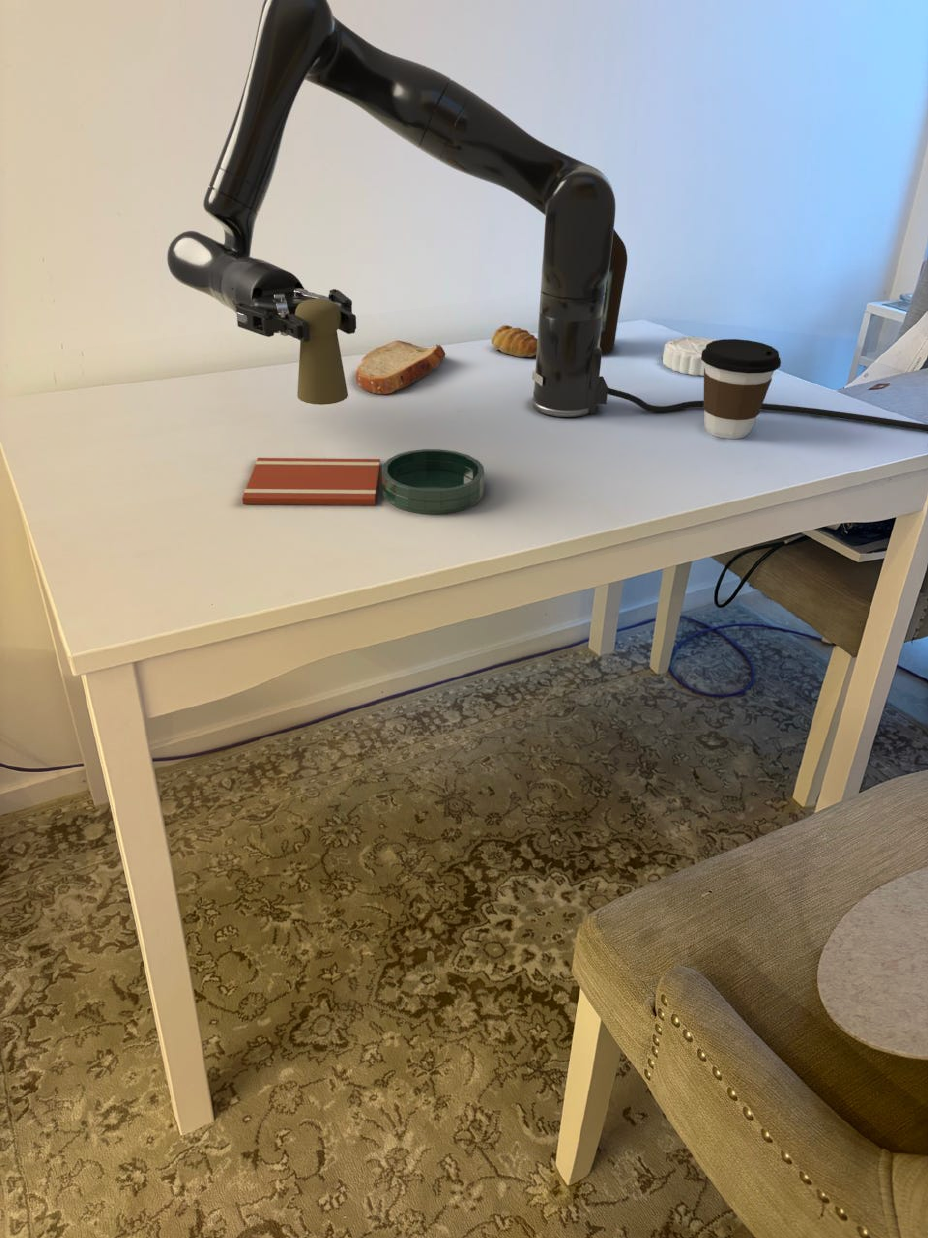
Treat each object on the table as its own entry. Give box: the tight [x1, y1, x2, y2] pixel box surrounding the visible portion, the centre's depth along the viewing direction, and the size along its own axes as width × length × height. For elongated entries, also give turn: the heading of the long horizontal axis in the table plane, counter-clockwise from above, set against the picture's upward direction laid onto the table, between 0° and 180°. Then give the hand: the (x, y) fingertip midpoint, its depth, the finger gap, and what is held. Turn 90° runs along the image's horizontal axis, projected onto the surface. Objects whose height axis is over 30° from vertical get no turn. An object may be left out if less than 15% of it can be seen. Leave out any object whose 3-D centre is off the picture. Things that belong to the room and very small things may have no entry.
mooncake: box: [662, 336, 718, 377], centre depth 157 cm, size 12×12×4 cm
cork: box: [295, 299, 349, 406], centre depth 106 cm, size 6×6×11 cm
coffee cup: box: [701, 338, 782, 440], centre depth 130 cm, size 11×11×12 cm
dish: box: [381, 448, 485, 515], centre depth 113 cm, size 13×13×3 cm
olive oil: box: [600, 229, 628, 356], centre depth 158 cm, size 11×11×25 cm
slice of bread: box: [355, 340, 446, 395], centre depth 150 cm, size 18×18×4 cm
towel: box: [241, 457, 381, 506], centre depth 115 cm, size 16×12×1 cm
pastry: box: [491, 324, 538, 358], centre depth 161 cm, size 9×7×4 cm
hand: (329, 328), depth 102 cm, fingers closed on cork, 5 cm apart
